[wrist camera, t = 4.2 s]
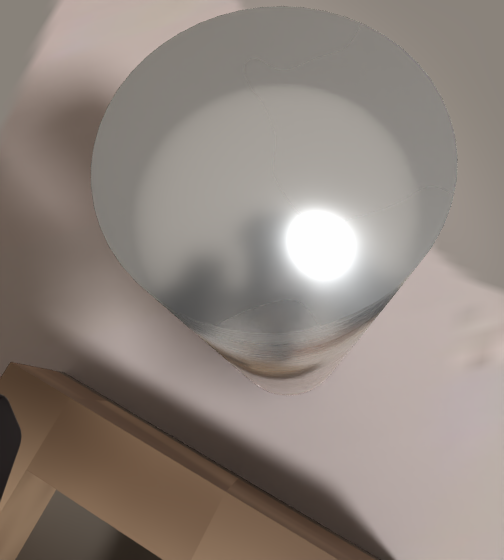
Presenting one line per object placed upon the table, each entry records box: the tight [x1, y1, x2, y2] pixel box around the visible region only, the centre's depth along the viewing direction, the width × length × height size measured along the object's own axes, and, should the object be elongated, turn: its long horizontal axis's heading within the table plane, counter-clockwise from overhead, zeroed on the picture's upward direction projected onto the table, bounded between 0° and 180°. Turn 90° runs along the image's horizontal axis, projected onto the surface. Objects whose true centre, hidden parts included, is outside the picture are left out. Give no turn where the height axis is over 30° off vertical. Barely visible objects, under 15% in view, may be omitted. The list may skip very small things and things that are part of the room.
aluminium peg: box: [91, 6, 458, 395], centre depth 11 cm, size 4×4×13 cm
